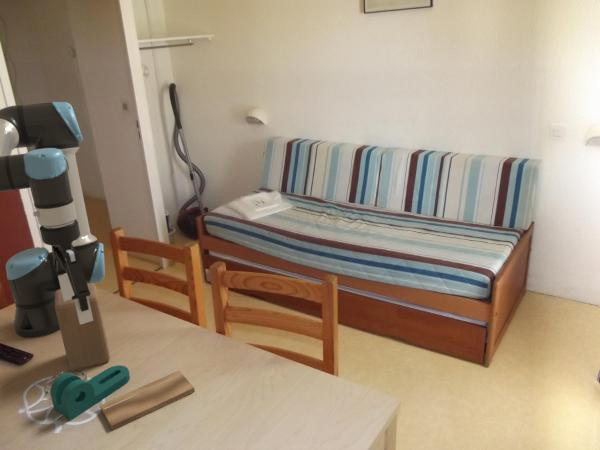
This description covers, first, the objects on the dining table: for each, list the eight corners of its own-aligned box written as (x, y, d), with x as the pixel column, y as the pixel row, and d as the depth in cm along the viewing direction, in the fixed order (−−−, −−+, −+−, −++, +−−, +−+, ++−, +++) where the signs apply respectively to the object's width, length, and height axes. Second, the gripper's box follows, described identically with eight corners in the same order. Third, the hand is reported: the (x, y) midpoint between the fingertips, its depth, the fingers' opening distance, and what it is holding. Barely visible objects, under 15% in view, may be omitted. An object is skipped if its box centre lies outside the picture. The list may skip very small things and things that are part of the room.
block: (70, 373, 133) (54, 306, 126) (69, 352, 142) (54, 289, 135) (110, 362, 137) (97, 297, 130) (107, 343, 146) (94, 280, 138)
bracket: (71, 421, 117) (63, 393, 115) (54, 410, 121) (47, 383, 118) (135, 378, 131) (130, 352, 128) (118, 369, 135) (113, 344, 132)
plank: (100, 409, 121) (99, 404, 120) (179, 374, 132) (179, 370, 131) (112, 430, 114) (111, 425, 114) (194, 391, 125) (194, 387, 125)
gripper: (27, 212, 117) (47, 295, 124) (53, 243, 98) (75, 339, 105) (62, 205, 121) (79, 285, 128) (93, 233, 102) (112, 326, 109)
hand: (77, 310), depth 117 cm, fingers open, 13 cm apart
